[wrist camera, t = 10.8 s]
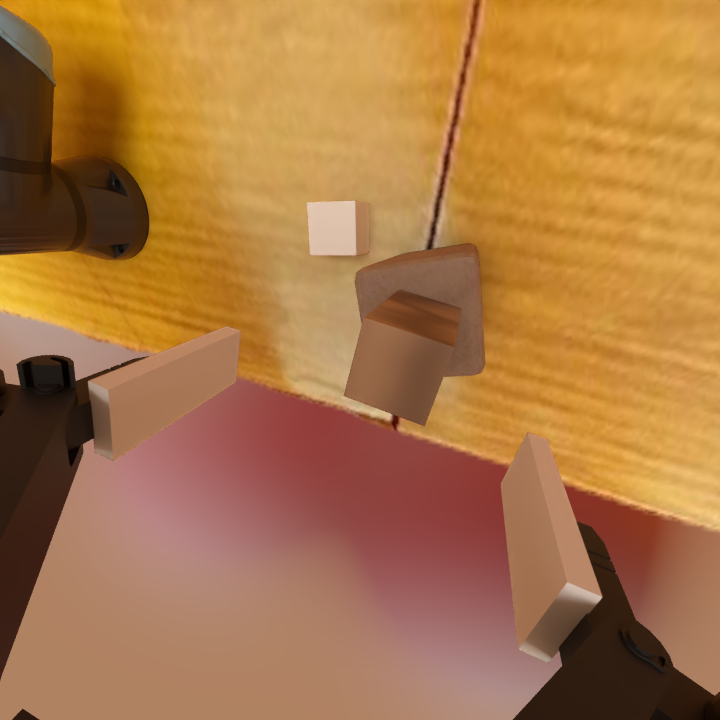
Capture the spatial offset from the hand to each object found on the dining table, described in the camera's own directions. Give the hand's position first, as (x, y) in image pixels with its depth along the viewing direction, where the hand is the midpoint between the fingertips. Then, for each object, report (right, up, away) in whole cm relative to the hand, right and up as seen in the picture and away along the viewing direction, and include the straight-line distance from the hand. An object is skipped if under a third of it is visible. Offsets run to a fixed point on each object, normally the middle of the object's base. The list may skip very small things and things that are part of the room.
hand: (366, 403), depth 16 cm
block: (+10, +11, +31) cm, 35 cm away
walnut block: (+5, +4, +13) cm, 15 cm away
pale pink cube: (-2, +19, +32) cm, 37 cm away
